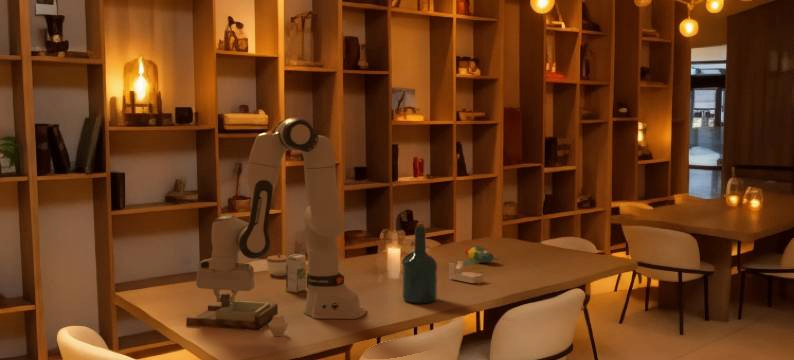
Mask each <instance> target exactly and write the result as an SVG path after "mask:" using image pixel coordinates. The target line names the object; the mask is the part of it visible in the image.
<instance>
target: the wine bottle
mask: <svg viewBox="0 0 794 360" xmlns="http://www.w3.org/2000/svg"><path fill="white" fill-rule="evenodd" d="M426 236H427V233H426V227H425V224H424V223H423V222H420V223H417V224H416V226H415V229H414V251H411V252H410V253H408V254H407V255H405V257H404V258H403V259H402V262H401V264H402V298H403V301H404V302H407V303H410V304H417V305H423V304H424V305H425V304H426V305H427V304H432V303H434V302H435V301H436V300H437V299H438V298H437V294H438V293H437V291H438V288H437V287H438V282H437V281H438V264H437V262H436V259H435V258H434V257H433V256H431V255H430V254H428V253H427V251H426V250H427V249H426V248H427V247H426Z"/></svg>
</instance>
